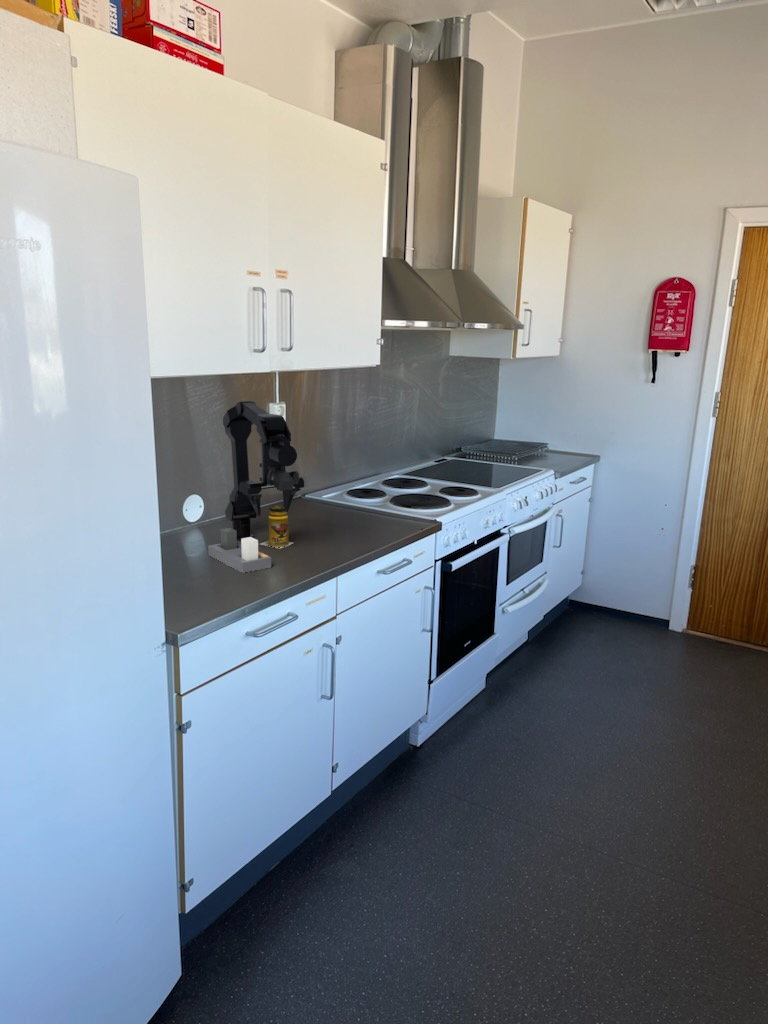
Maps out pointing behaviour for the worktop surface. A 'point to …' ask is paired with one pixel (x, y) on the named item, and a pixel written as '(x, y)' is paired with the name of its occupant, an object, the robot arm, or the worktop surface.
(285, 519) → the condiment
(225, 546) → the dark gray block
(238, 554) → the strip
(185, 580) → the worktop surface
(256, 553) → the plug
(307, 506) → the worktop surface
